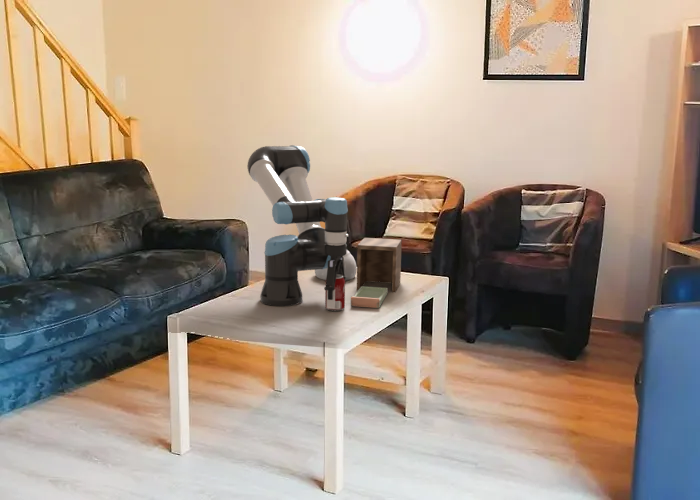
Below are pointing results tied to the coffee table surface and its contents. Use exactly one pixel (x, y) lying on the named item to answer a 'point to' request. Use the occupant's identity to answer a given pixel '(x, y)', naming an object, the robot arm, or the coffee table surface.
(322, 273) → the teapot
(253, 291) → the coffee table surface
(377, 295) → the tray
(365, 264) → the open wooden crate
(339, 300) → the soda can
